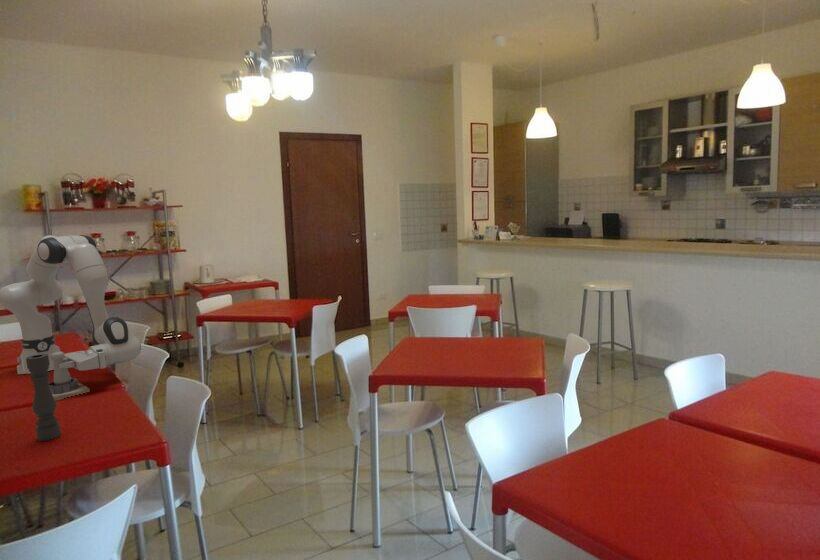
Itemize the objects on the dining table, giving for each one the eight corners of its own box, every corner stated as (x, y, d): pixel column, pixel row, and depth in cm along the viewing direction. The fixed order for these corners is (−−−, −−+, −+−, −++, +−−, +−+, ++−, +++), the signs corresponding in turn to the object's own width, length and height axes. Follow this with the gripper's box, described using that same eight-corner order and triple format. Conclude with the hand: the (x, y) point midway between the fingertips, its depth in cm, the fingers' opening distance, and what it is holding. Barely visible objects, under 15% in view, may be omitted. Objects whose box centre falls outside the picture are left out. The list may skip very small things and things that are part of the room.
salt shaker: (75, 382, 225) (69, 349, 223) (66, 388, 220) (59, 354, 217) (61, 383, 226) (54, 350, 224) (51, 389, 220) (44, 355, 218)
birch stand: (37, 395, 223) (36, 391, 223) (78, 385, 233) (77, 381, 233) (47, 402, 213) (47, 398, 213) (89, 392, 223) (89, 388, 223)
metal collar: (44, 391, 223) (42, 383, 222) (73, 383, 230) (72, 376, 229) (51, 396, 216) (50, 388, 215) (81, 388, 223) (80, 381, 222)
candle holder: (43, 433, 183) (31, 354, 179) (64, 431, 183) (53, 352, 180) (33, 441, 177) (20, 359, 173) (54, 439, 177) (42, 358, 174)
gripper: (86, 345, 237) (47, 353, 228) (104, 352, 223) (63, 361, 213) (89, 360, 238) (50, 369, 228) (107, 368, 224) (66, 378, 214)
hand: (56, 365), depth 221 cm, fingers closed on salt shaker, 3 cm apart
